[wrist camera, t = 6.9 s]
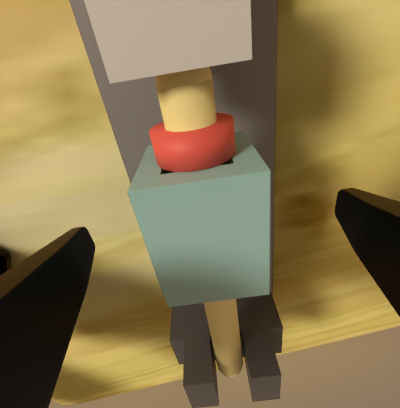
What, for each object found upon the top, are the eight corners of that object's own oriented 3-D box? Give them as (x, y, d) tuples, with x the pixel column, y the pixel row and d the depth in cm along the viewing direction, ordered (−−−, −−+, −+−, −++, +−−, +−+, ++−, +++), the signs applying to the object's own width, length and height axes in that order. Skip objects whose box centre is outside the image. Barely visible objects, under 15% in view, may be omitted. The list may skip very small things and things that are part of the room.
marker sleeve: (248, 230, 12) (269, 294, 9) (173, 240, 12) (167, 307, 9) (242, 131, 10) (270, 170, 6) (147, 145, 10) (127, 191, 6)
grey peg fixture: (268, 290, 21) (303, 396, 14) (175, 302, 21) (169, 410, 15) (269, -95, 9) (460, -450, 3) (62, -54, 9) (-207, -281, 3)
